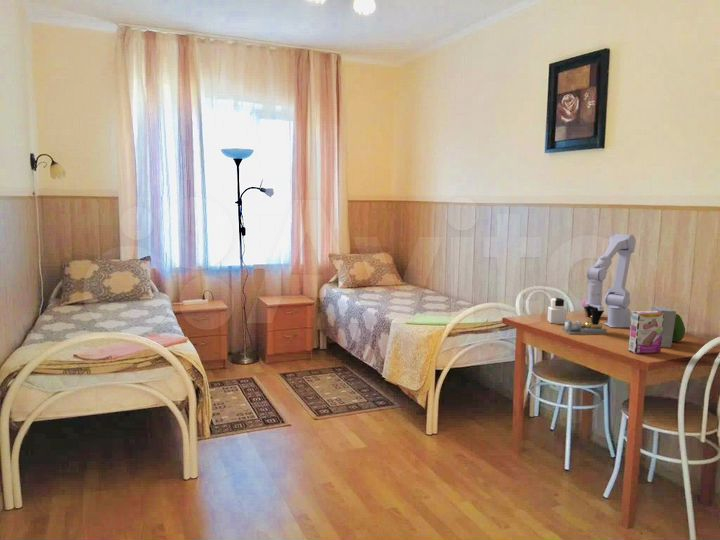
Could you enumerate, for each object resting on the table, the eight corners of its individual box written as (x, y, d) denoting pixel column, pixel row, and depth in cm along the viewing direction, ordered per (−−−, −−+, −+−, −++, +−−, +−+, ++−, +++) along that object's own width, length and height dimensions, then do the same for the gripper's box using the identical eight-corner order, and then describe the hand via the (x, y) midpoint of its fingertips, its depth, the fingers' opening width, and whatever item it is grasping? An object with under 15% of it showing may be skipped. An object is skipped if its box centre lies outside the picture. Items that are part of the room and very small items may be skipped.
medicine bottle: (561, 320, 272) (563, 297, 271) (565, 324, 265) (567, 300, 264) (547, 320, 273) (548, 297, 271) (550, 323, 266) (551, 299, 264)
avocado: (672, 338, 239) (674, 311, 237) (688, 342, 232) (690, 315, 230) (658, 339, 236) (660, 312, 235) (674, 344, 229) (676, 316, 227)
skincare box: (646, 342, 232) (649, 305, 230) (663, 342, 232) (666, 305, 230) (656, 347, 224) (659, 309, 222) (674, 347, 224) (677, 309, 222)
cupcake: (600, 319, 276) (602, 299, 275) (582, 318, 278) (583, 299, 277) (597, 315, 285) (598, 296, 284) (579, 314, 287) (580, 296, 286)
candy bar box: (635, 354, 214) (638, 313, 212) (627, 350, 219) (630, 310, 217) (661, 353, 216) (664, 312, 214) (653, 349, 221) (656, 310, 218)
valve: (598, 329, 252) (599, 315, 251) (602, 331, 248) (603, 317, 247) (583, 329, 252) (584, 315, 251) (587, 331, 248) (587, 316, 247)
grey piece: (597, 329, 255) (598, 318, 254) (607, 334, 245) (607, 323, 244) (561, 329, 255) (562, 318, 254) (569, 334, 245) (570, 323, 245)
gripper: (580, 291, 255) (578, 319, 257) (592, 296, 241) (591, 326, 242) (595, 291, 255) (593, 319, 257) (608, 296, 241) (606, 326, 242)
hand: (593, 323), depth 250 cm, fingers open, 4 cm apart
